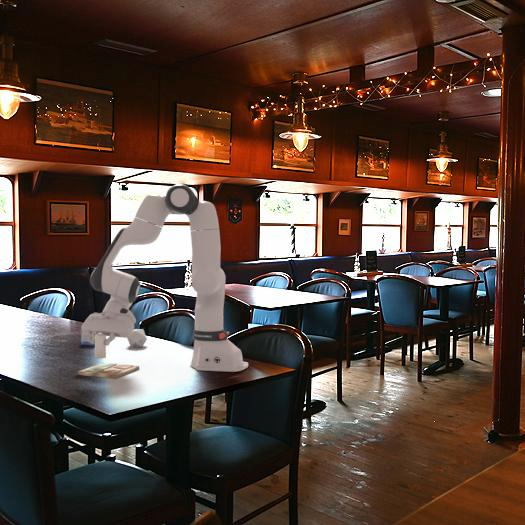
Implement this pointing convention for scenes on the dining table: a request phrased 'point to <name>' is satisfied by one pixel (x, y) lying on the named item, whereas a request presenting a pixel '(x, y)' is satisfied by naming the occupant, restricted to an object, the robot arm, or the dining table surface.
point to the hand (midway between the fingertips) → (99, 343)
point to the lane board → (108, 370)
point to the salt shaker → (100, 345)
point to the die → (137, 338)
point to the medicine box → (86, 339)
